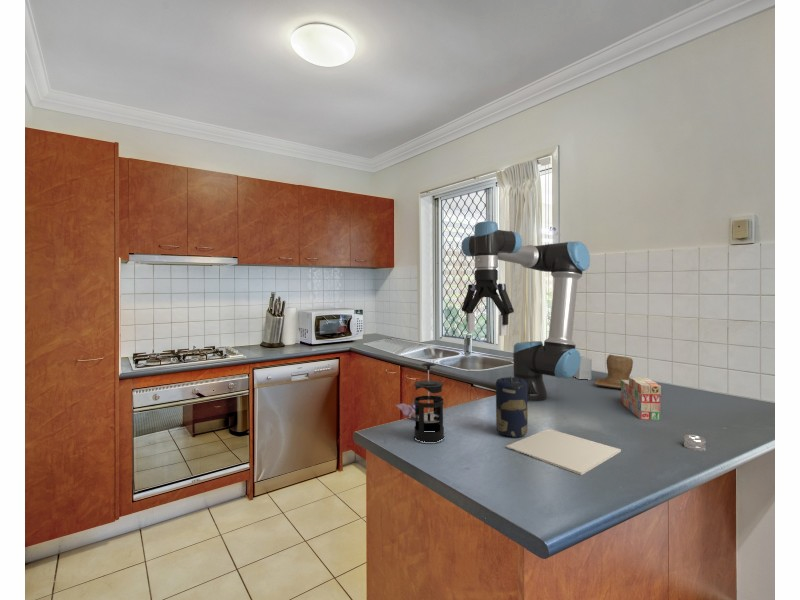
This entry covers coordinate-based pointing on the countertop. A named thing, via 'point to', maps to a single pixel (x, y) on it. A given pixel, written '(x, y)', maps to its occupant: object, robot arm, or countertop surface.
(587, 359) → the skincare box
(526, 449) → the mat
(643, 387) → the stack of blocks
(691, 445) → the grooved metal pulley
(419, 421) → the french press
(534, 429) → the countertop surface
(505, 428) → the canister
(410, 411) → the rabbit figure
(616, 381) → the brown wooden stand
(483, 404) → the countertop surface
